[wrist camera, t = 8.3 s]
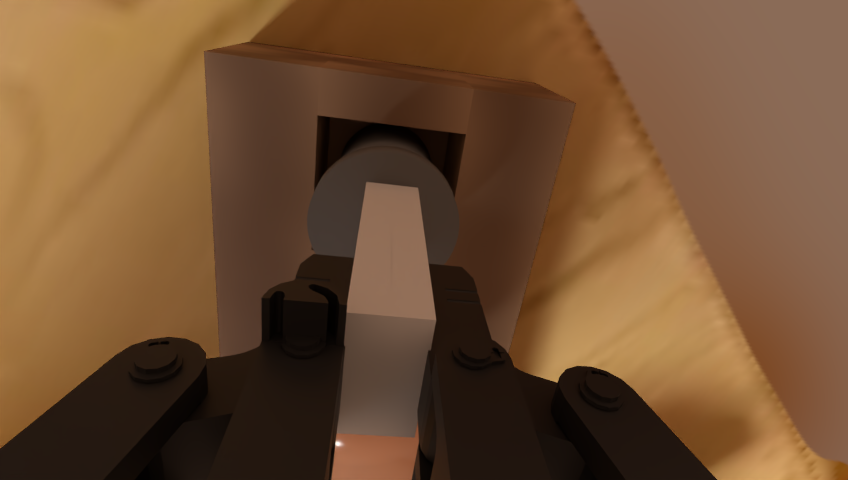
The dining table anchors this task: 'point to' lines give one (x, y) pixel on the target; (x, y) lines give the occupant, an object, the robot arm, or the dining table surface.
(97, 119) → the dining table surface
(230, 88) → the wooden peg tray
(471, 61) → the dining table surface
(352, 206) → the black plug
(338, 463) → the terracotta plug
